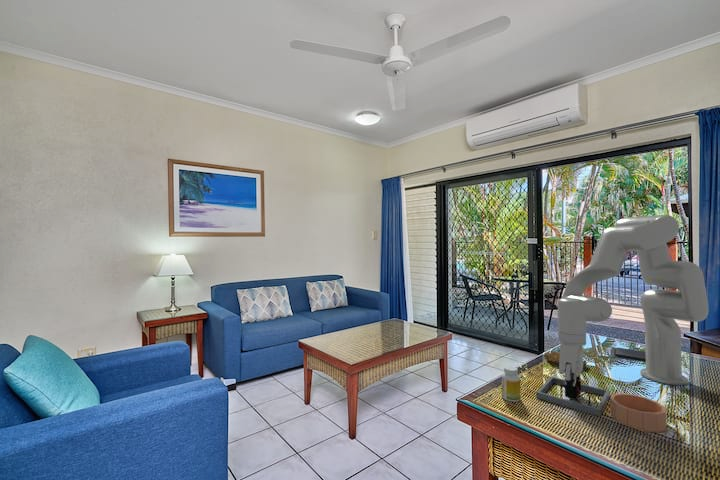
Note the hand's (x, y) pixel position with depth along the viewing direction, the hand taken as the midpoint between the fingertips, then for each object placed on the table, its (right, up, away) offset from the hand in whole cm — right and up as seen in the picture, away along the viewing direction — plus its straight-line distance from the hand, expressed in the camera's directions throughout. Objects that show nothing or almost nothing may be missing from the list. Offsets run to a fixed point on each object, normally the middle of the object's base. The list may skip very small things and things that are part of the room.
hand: (573, 394), depth 105 cm
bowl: (+9, -1, -14) cm, 17 cm away
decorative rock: (+14, -1, +27) cm, 31 cm away
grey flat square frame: (0, -1, 0) cm, 1 cm away
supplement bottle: (-20, -1, 0) cm, 20 cm away
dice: (0, -1, 0) cm, 1 cm away
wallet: (+51, -1, +35) cm, 62 cm away
